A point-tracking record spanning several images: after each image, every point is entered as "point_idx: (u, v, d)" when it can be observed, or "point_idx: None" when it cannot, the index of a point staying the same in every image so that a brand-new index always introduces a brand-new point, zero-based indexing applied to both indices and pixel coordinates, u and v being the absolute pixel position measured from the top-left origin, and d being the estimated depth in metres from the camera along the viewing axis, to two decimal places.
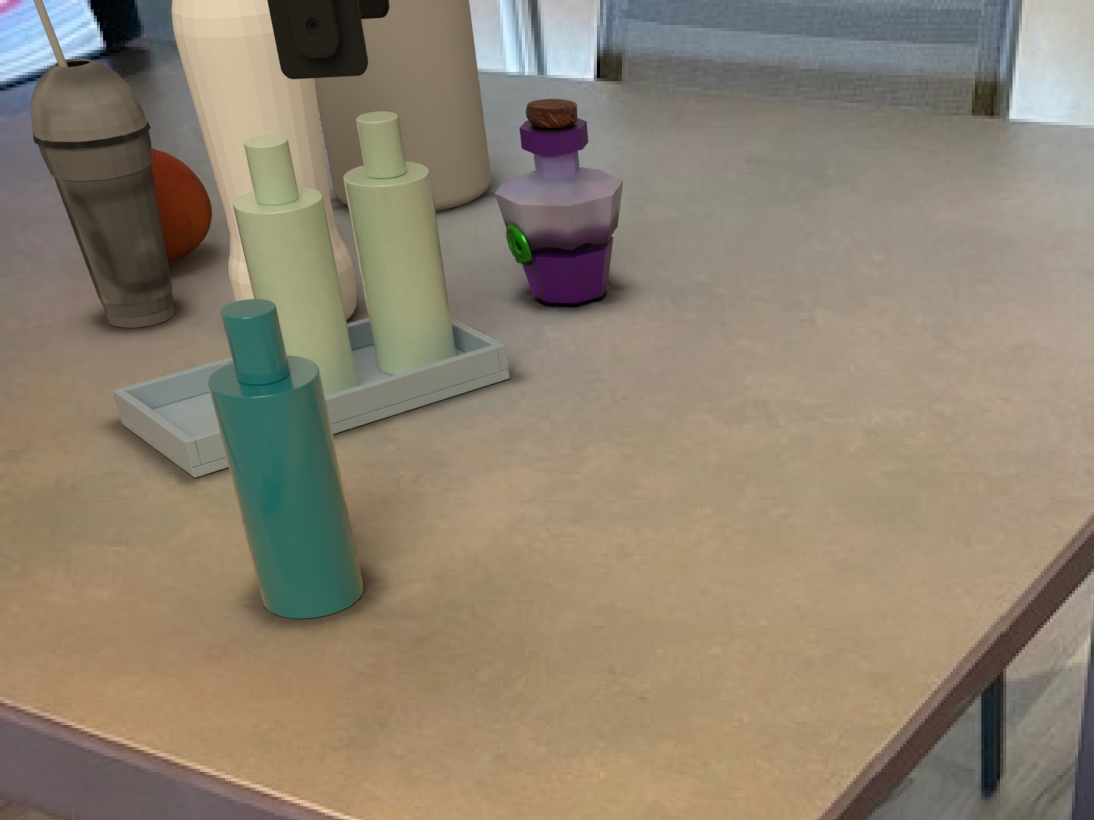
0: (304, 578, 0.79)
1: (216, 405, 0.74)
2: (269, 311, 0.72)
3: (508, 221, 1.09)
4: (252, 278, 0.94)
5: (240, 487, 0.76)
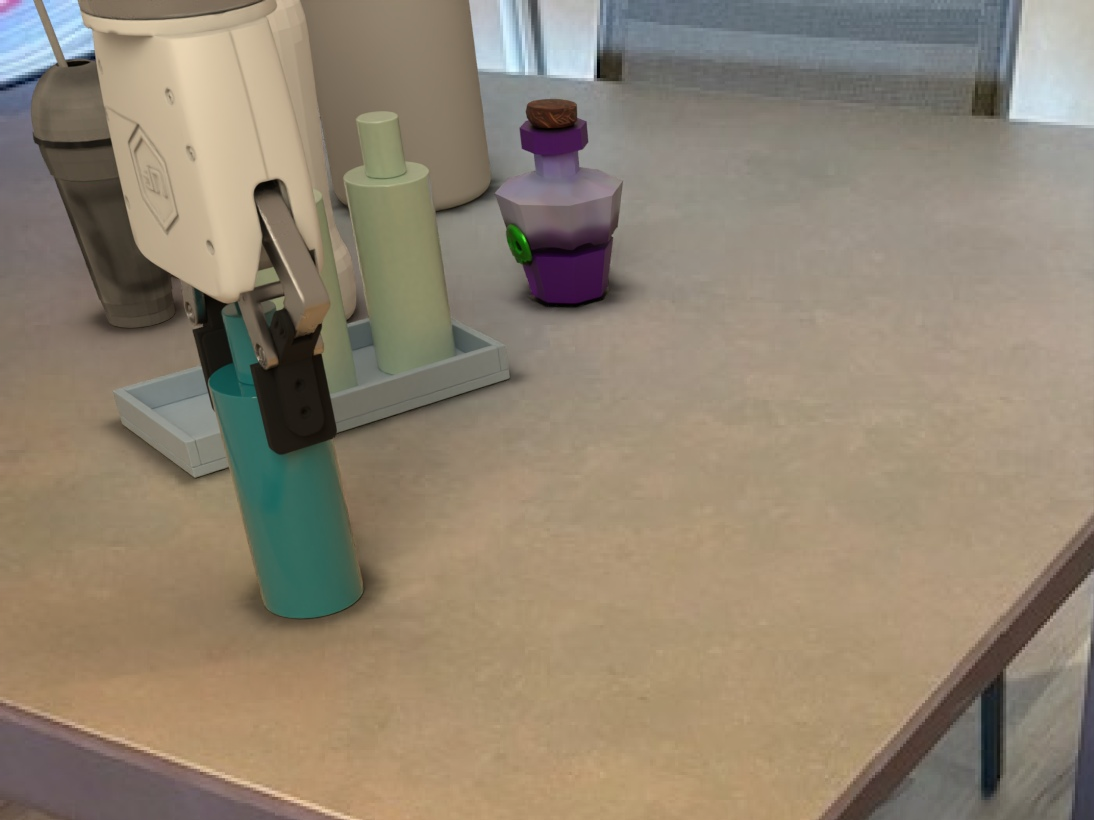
0: (304, 578, 0.79)
1: (216, 405, 0.74)
2: (269, 311, 0.72)
3: (508, 221, 1.09)
4: None
5: (240, 487, 0.76)
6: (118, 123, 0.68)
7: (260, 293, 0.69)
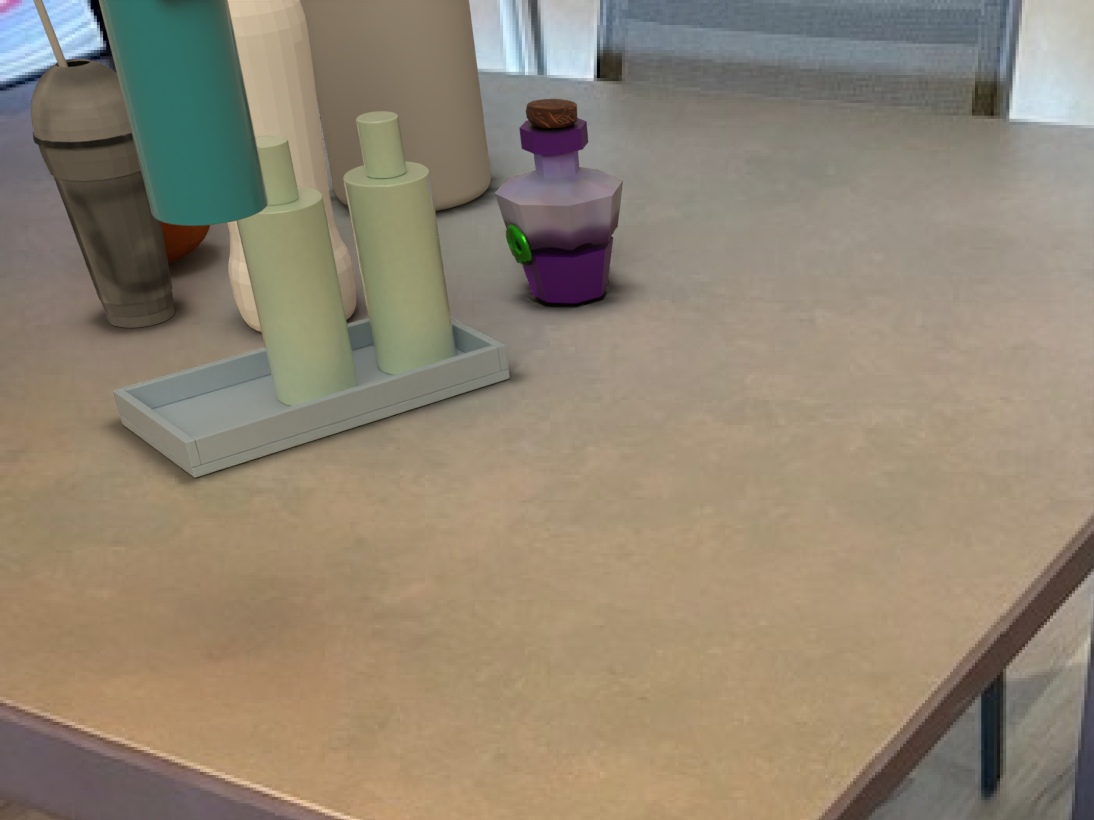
0: (195, 172, 0.69)
1: None
2: None
3: (508, 221, 1.09)
4: (252, 278, 0.94)
5: (118, 51, 0.66)
6: None
7: None
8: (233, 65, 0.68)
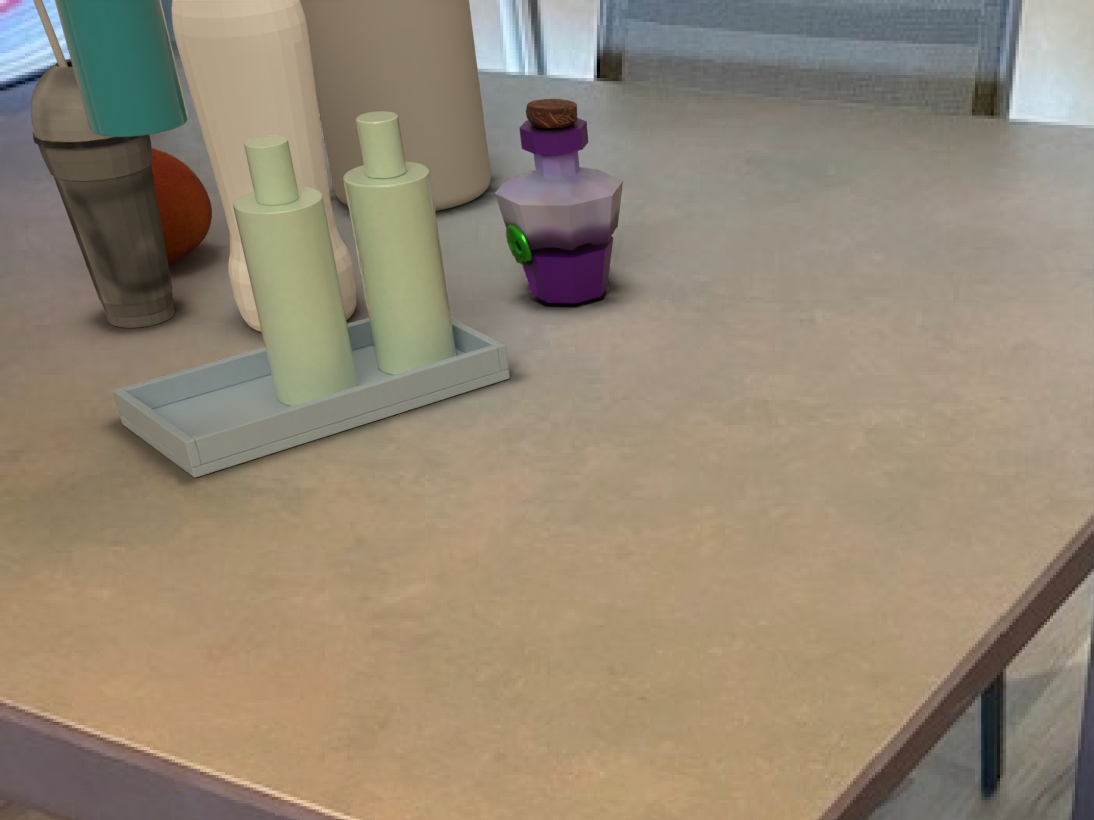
0: (124, 90, 0.82)
1: None
2: None
3: (508, 221, 1.09)
4: (252, 278, 0.94)
5: None
6: None
7: None
8: (153, 0, 0.81)
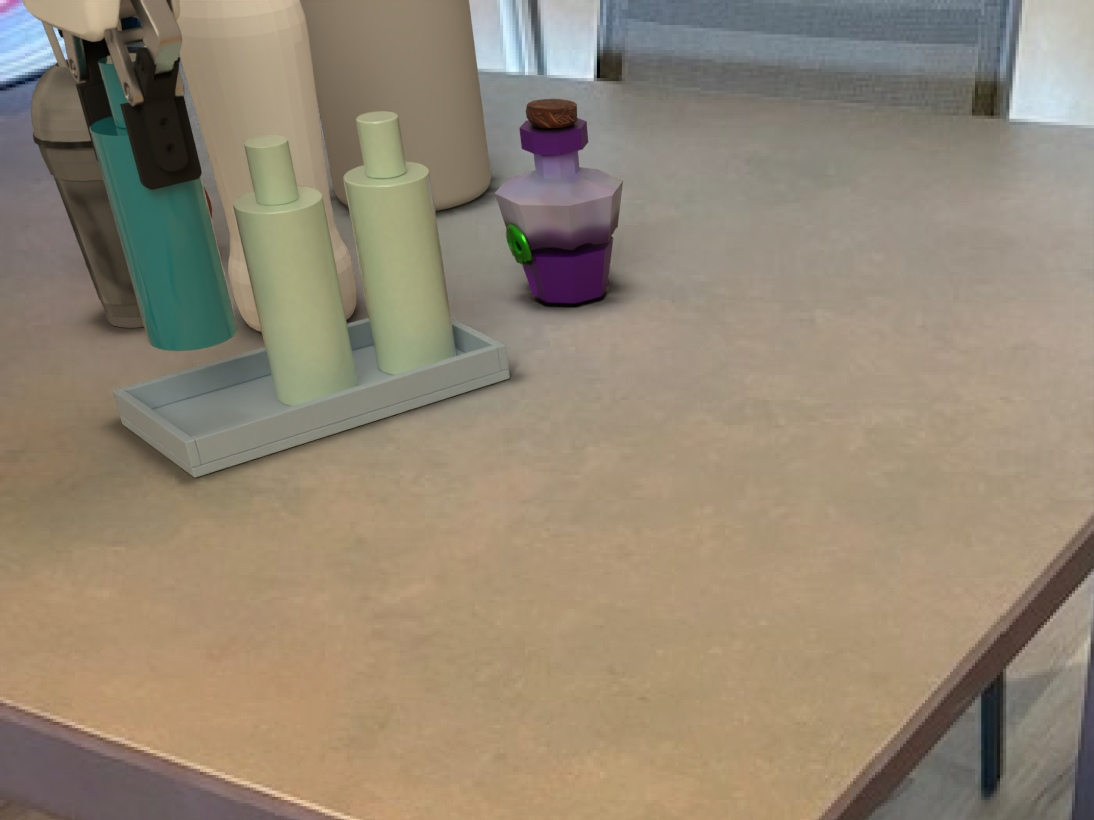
0: (181, 311, 0.90)
1: (96, 147, 0.86)
2: None
3: (508, 221, 1.09)
4: (252, 278, 0.94)
5: (121, 225, 0.88)
6: None
7: (125, 35, 0.81)
8: (208, 231, 0.89)
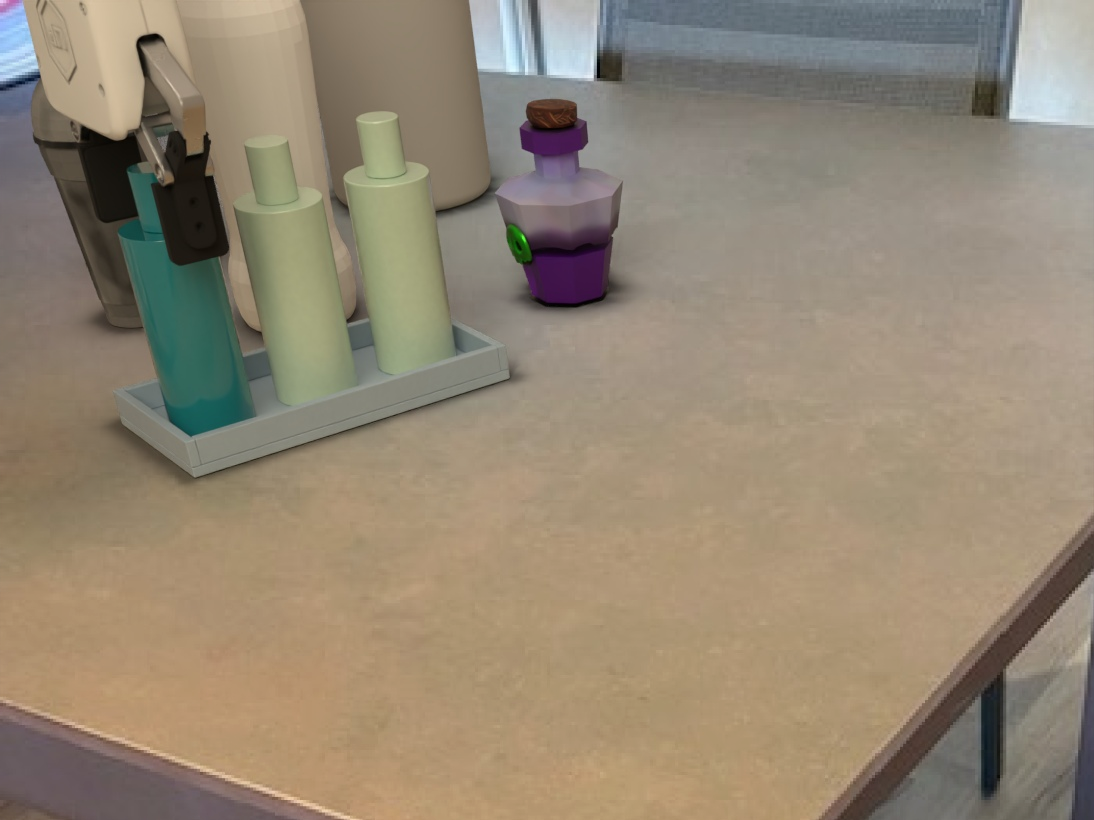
0: (203, 404, 0.94)
1: (124, 250, 0.89)
2: None
3: (508, 221, 1.09)
4: (252, 278, 0.94)
5: (147, 323, 0.91)
6: None
7: (150, 120, 0.83)
8: (230, 328, 0.93)
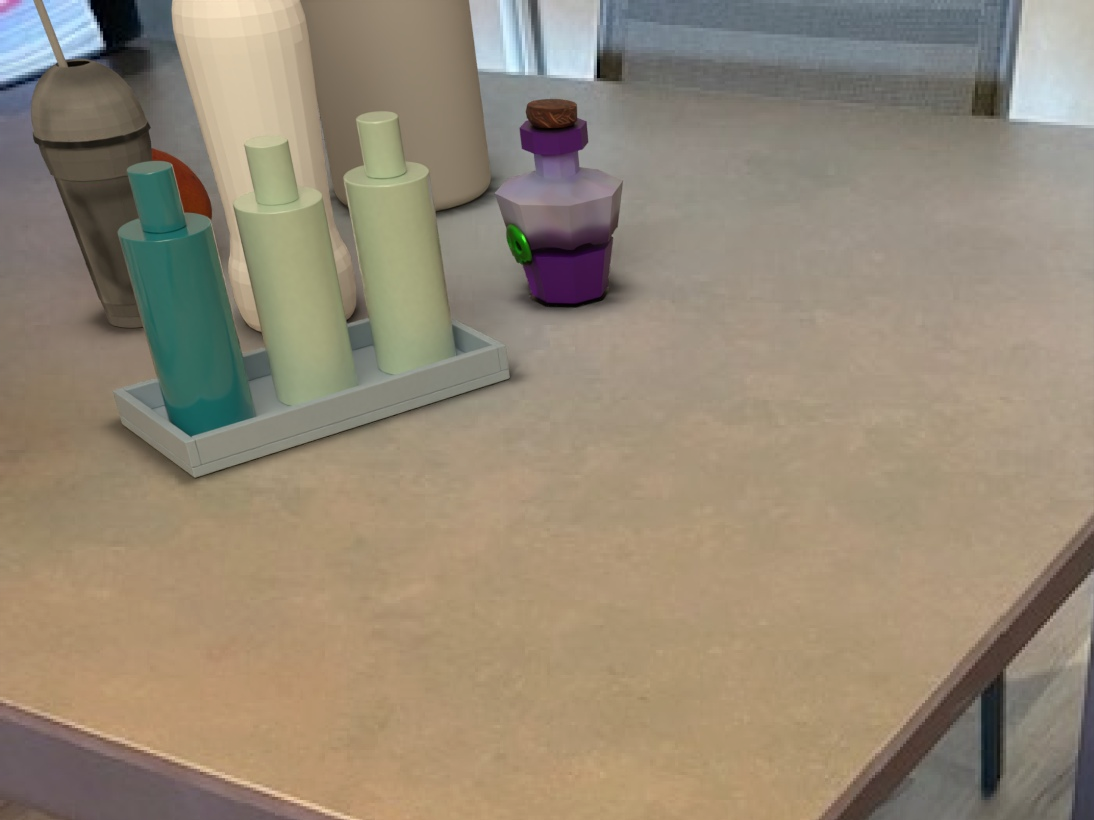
0: (203, 404, 0.94)
1: (124, 250, 0.89)
2: (166, 169, 0.87)
3: (508, 221, 1.09)
4: (252, 278, 0.94)
5: (147, 323, 0.91)
6: None
7: None
8: (230, 328, 0.93)
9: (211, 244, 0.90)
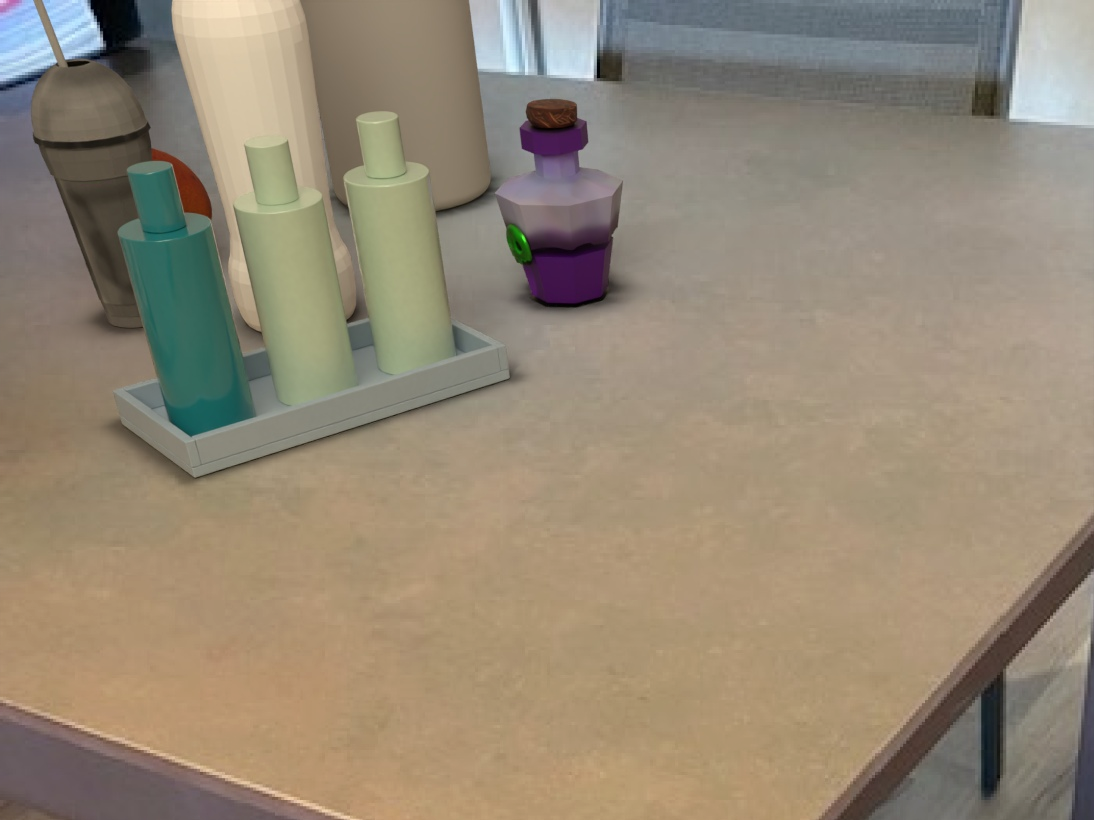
0: (203, 404, 0.94)
1: (124, 250, 0.89)
2: (166, 169, 0.87)
3: (508, 221, 1.09)
4: (252, 278, 0.94)
5: (147, 323, 0.91)
6: None
7: None
8: (230, 328, 0.93)
9: (211, 244, 0.90)
